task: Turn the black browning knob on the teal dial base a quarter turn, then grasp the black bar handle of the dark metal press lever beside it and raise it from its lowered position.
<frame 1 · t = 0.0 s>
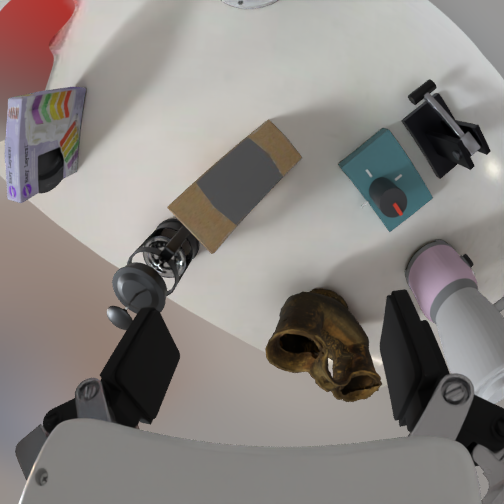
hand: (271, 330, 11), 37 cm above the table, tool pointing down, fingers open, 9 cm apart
pottery vessel: (324, 308, 57), on the table
french press: (178, 239, 53), on the table
teal dial base: (385, 178, 42), on the table
blender: (435, 259, 48), on the table
browning knob: (387, 196, 38), point 6 cm above the table, hinge at 0.0°
cake pan box: (74, 132, 45), on the table
sandwich container: (250, 167, 45), on the table
black lever stand: (437, 135, 36), on the table
press lever: (447, 118, 29), point 8 cm above the table, hinge at -28.0°
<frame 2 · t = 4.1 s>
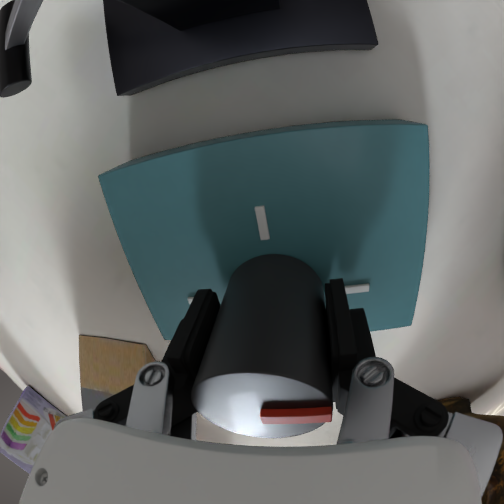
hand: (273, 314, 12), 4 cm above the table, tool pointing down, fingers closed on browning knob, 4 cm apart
pottery vessel: (428, 417, 23), on the table
teal dial base: (273, 228, 14), on the table
browning knob: (269, 346, 10), point 6 cm above the table, hinge at 0.0°, touching gripper
cake pan box: (63, 413, 41), on the table
sandwich container: (141, 387, 25), on the table
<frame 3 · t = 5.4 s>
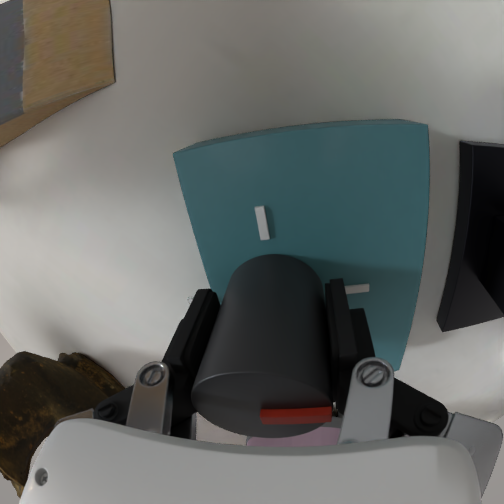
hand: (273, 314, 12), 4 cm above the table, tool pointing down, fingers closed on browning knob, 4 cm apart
pottery vessel: (99, 383, 27), on the table
teal dial base: (315, 257, 15), on the table
blender: (320, 427, 25), on the table
browning knob: (269, 347, 10), point 6 cm above the table, hinge at 90.6°, touching gripper
sandwich container: (30, 72, 11), on the table
black lever stand: (503, 237, 12), on the table
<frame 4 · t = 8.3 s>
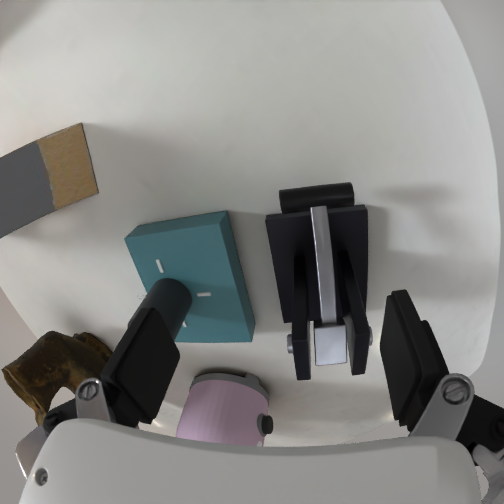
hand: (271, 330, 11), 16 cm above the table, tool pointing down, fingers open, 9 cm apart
pottery vessel: (99, 354, 42), on the table
teal dial base: (198, 277, 30), on the table
blender: (240, 387, 40), on the table
browning knob: (160, 315, 25), point 6 cm above the table, hinge at 89.7°
sandwich container: (49, 173, 26), on the table
black lever stand: (321, 266, 27), on the table
press lever: (325, 275, 19), point 8 cm above the table, hinge at -28.0°
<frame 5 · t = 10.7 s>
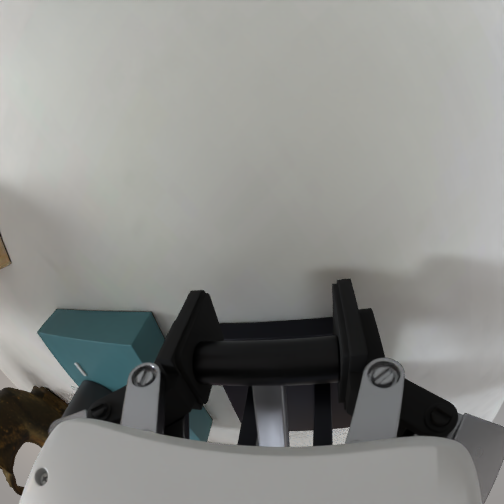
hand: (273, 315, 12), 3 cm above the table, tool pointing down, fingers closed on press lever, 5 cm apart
pottery vessel: (62, 406, 33), on the table
teal dial base: (135, 373, 21), on the table
browning knob: (89, 425, 16), point 6 cm above the table, hinge at 89.7°
black lever stand: (292, 381, 18), on the table
press lever: (276, 465, 9), point 8 cm above the table, hinge at -28.0°, touching gripper
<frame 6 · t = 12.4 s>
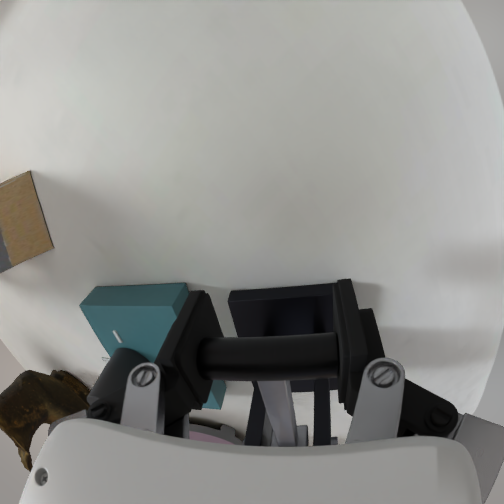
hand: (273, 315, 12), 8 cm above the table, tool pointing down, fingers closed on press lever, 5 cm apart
pottery vessel: (78, 390, 38), on the table
teal dial base: (162, 343, 26), on the table
blender: (217, 434, 35), on the table
browning knob: (121, 387, 21), point 6 cm above the table, hinge at 89.7°
sandwich container: (9, 219, 22), on the table
black lever stand: (296, 342, 23), on the table
press lever: (283, 419, 12), point 10 cm above the table, hinge at 1.9°, touching gripper
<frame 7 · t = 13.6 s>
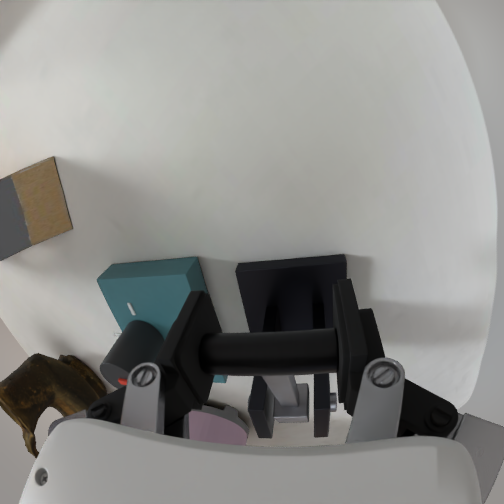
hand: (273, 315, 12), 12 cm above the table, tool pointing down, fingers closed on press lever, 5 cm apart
pottery vessel: (85, 375, 40), on the table
teal dial base: (172, 318, 29), on the table
blender: (220, 417, 38), on the table
browning knob: (132, 358, 24), point 6 cm above the table, hinge at 89.7°
sandwich container: (28, 203, 25), on the table
black lever stand: (297, 314, 26), on the table
press lever: (285, 388, 14), point 12 cm above the table, hinge at 20.6°, touching gripper
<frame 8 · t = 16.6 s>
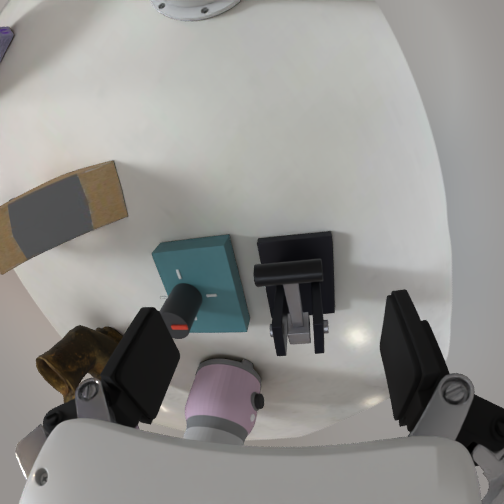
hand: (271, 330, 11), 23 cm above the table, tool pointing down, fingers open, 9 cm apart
pottery vessel: (117, 346, 52), on the table
teal dial base: (206, 282, 40), on the table
blender: (238, 372, 49), on the table
browning knob: (179, 311, 35), point 6 cm above the table, hinge at 89.7°
sandwich container: (83, 196, 36), on the table
black lever stand: (299, 275, 37), on the table
press lever: (295, 307, 25), point 12 cm above the table, hinge at 21.0°
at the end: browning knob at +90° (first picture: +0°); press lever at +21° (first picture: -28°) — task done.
